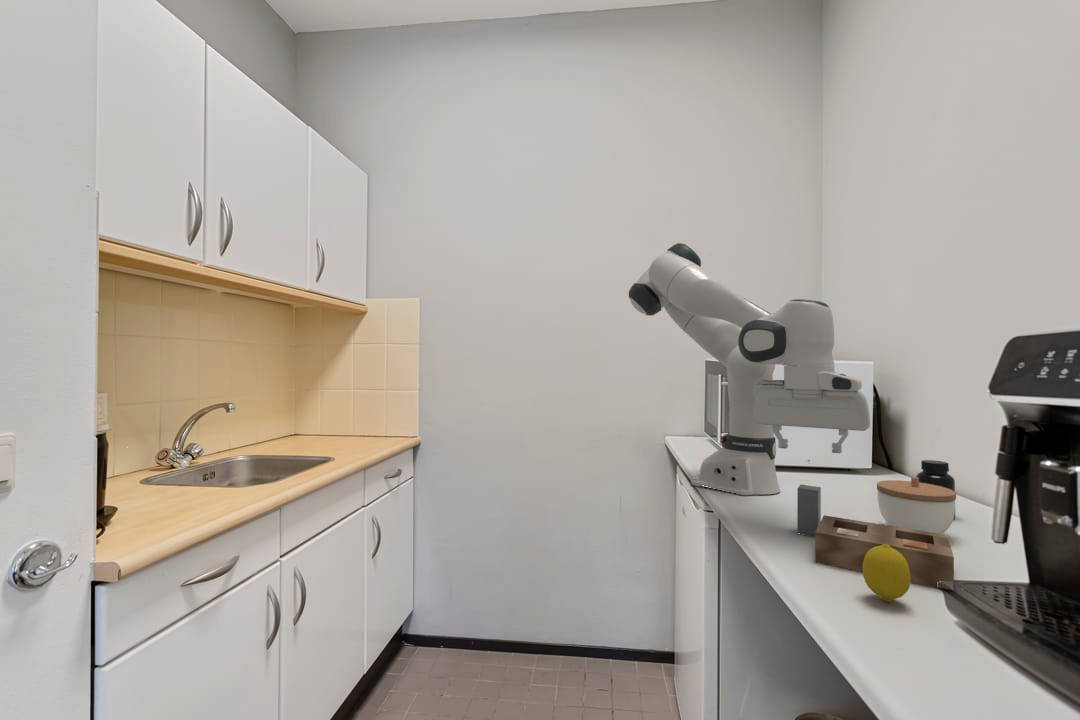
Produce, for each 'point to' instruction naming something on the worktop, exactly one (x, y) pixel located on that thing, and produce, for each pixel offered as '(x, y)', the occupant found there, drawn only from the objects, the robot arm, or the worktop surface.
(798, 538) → the worktop surface
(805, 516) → the plug
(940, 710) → the worktop surface
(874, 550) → the lemon
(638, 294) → the robot arm
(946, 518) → the lidded bowl
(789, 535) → the worktop surface
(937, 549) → the socket block
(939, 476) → the supplement bottle
